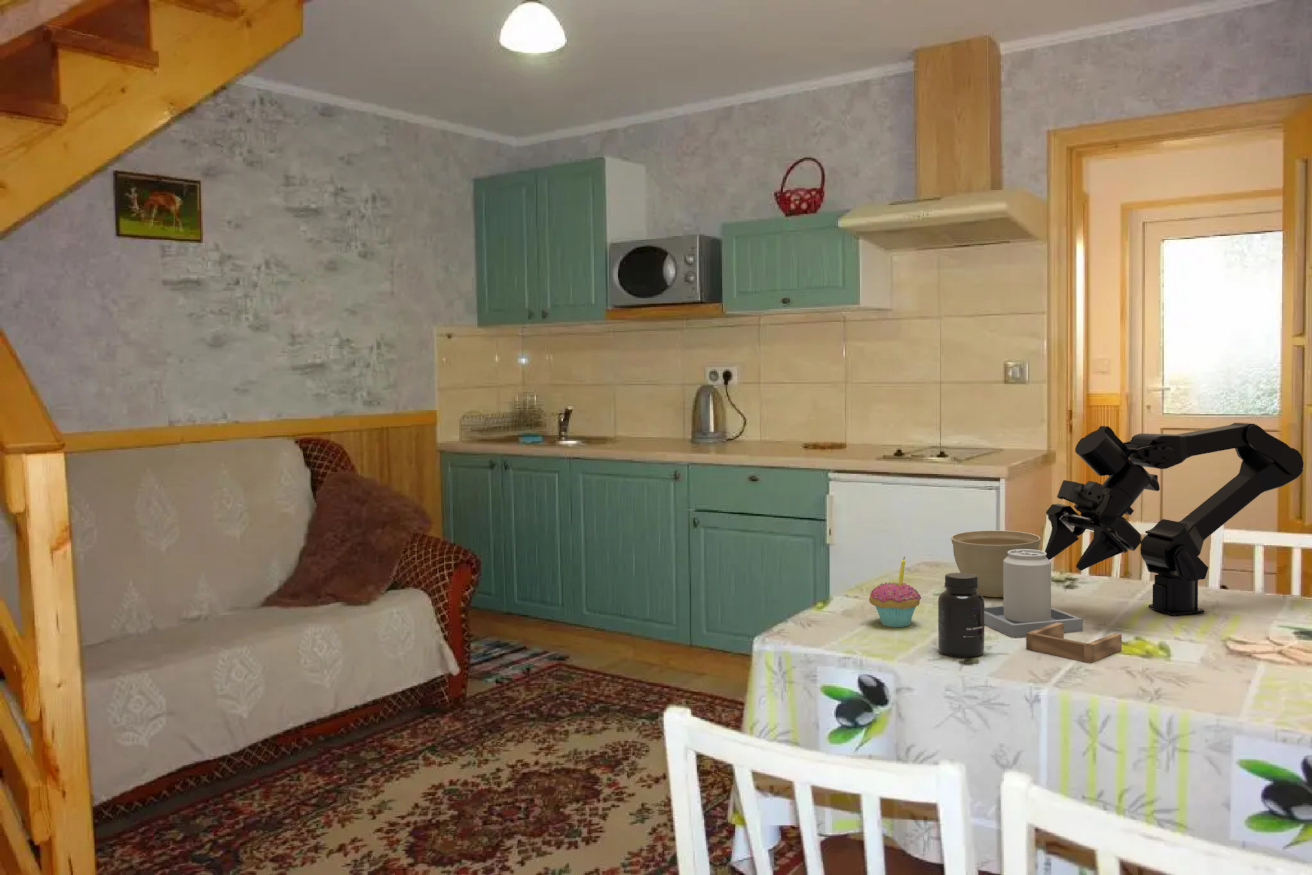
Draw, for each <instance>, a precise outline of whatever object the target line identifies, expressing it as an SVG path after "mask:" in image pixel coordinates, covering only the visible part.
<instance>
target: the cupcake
mask: <svg viewBox="0 0 1312 875" xmlns="http://www.w3.org/2000/svg"><path fill="white" fill-rule="evenodd" d="M905 559H906V555H904V556H903V559H902V560H901V561H900V568H899V576H898V582H885V583H881V584H879V585H877V586H876V587H874V588H873V589H872V590H871V592H870V593H869V594H870V595H869V597H868V598H869V599H868V600H869V603H870V604H871V605H872V606H874V607H875V609H876V610H877V613H878V616H879V619H880V623H881V624H882V625H883V624H884V625H883V626H885V625H886V626H885V627H889V626H891V627H892V628H903V627H904V626H905V627H908V626H910V624H911V622H912V617H913V616H914V613H915V610H916V608H917V606H919V605H920V603H921V601H920V600H921V599H922V597H921V594H920V593H919V591H918V590H917V589H915V588H914V587H913V586H912V585H911V586H910V584H907V583H905V582H904V576H905V575H904V574H905V567H906V566H905V565H906V560H905ZM891 627H890V628H891Z"/></svg>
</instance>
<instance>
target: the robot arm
mask: <svg viewBox="0 0 1312 875" xmlns="http://www.w3.org/2000/svg"><path fill="white" fill-rule="evenodd" d="M1233 449H1235V453H1236V455H1237V457H1239V459H1241V460H1242V461H1241V462H1240V468H1239V470H1238V471H1239V472H1238V474H1237V475H1235V476H1234V477H1233V478H1231V480H1229V481H1228V482H1227V483H1226V484H1224V485H1223V486H1222V487H1221V488H1220V489H1218V490H1217V491H1216V492H1214V493H1213V494H1212V495H1211V496H1210V497H1209V498H1207V499H1206V500H1204V501H1203V502H1202V503H1201V504H1199V505H1198V506H1197V507H1196V508H1195V509H1193V510H1192V511H1191V512H1190V513H1189V514H1187V515H1186V516H1185V517H1183V519H1181V520H1179V521H1176V520H1170V519H1165V518H1162V519H1161V520H1159V521H1158V522H1157V523H1156V524H1155V526H1153V527H1152V528H1150V529H1148V530H1145V534H1146V535H1145V536H1144V537H1143V538H1142V535H1141V533H1140V532H1139V531H1138V530H1137V529H1136V528H1135V526H1133V525H1132V524H1131V523H1130V522H1129V520H1127V519H1126V518H1125V517H1124V515H1127V516H1132V514H1133V513H1134V512H1135V509H1133V508H1132V505H1133V504H1134V503H1135V502H1136V500H1137V499H1138V498H1139V497H1140V496H1141V494H1142V493H1143V491H1144V490H1149V491H1154V492H1159V491H1160V489H1161V487H1160V483H1159V479H1158V477H1159V476H1158V474H1153V473H1149V472H1148V471H1147V470H1146V468H1150V469H1157V470H1158V469H1159V470H1166V469H1170V468H1172V467H1175V466H1177V465H1179V464H1181V463H1183V462H1184V461H1186V460H1187V459H1189V458H1191V457H1195V456H1200V455H1205V454H1210V453H1211V454H1212V453H1215V452H1221V451H1227V450H1233ZM1074 450H1075V453H1076V455H1078V457H1079V458H1080V459H1082V460H1083V462H1084V463H1085V464H1086V465H1087V466H1088V467H1089V468H1090V469H1091V470H1092V471H1093V472H1094V473H1095V474H1096V475H1097V476H1100V477H1105V476H1108V477H1106V479H1105V481H1104V482H1103V483H1102V484H1101V483H1099V482H1097V481H1092V480H1088V481H1087V482H1086V483H1085V484H1084V483H1081V482H1077V481H1072V480H1071V481H1070V480H1066V479H1063V480H1062V483H1061V485H1060V487H1059V490H1058V492H1057V495H1056V498H1057V499H1060V500H1065V501H1067V502H1070V503H1072V504H1074V505H1073V507H1072V506H1071V505H1066V504H1061V503H1053V504H1051V505H1050V506H1049V508H1048V509H1047V510H1046V512H1045V514H1046V515H1047V520H1048V521H1050V525H1051V532H1050V535H1049V539H1048V541H1047V544H1046V546H1045V549H1044V552H1046V553H1047V555H1046V557H1047V558H1048V560H1049V561H1050V560H1051V559H1053V558H1055V557H1056V556H1058V555H1059V554H1060V553H1062V552H1063V551H1065V550H1066V549H1068V548H1069V547H1070V546H1072V545H1073V544H1074V543H1076V542H1077V541H1078V540H1080V538H1079V536H1080V535H1083V534H1084V533H1085V531H1086V530H1090V531H1093V538H1092V540H1091V542H1090V543H1089V544H1088V546H1087V547H1086V549H1085V550H1084V552H1083V554H1082V555H1081V557H1080V558H1079V560H1078V561H1077V563H1076V565H1075V568H1076V569H1078V571H1083V570H1086V569H1088V568H1090V567H1093V566H1094V565H1096V564H1099V563H1101V562H1103V561H1105V560H1108V559H1110V558H1113V557H1115V556H1117V555H1120V554H1123V553H1124V554H1126V553H1127V552H1128V551H1129V550H1130V551H1133V552H1134V551H1136V549H1137V548H1138V547H1139V546H1140V549H1139V550H1140V555H1141V558H1142V560H1143V561H1144V562H1145V565H1146V569H1147V571H1148V573H1152V574H1153V573H1154V583H1153V584H1152V604H1151V603H1150V604H1148V605H1147V606H1148V609H1152V610H1156V611H1158V612H1161V613H1164V614H1167V615H1170V616H1182V615H1191V614H1194V615H1195V614H1204V613H1205V609H1203V608H1200V607H1199V581H1200V580H1205V579H1206V578H1207V574H1208V570H1209V567H1208V566H1207V565H1206V563H1205V562H1204V561H1203V560H1202V559H1201V558H1200V557H1199V556H1200V555H1201V552H1202V548H1203V545H1204V542H1205V541H1206V539H1207V538H1208V537H1210V536H1212V534H1214V533H1215V532H1216V531H1217V530H1219V529H1220V528H1221V527H1223V525H1224V524H1226V523H1227V522H1228V521H1230V519H1232V518H1233V517H1235V515H1237V514H1238V513H1239V512H1241V511H1242V510H1243V509H1244V508H1245V507H1247V506H1248V505H1249V504H1250V503H1251V502H1253V501H1254V500H1255V499H1257V497H1259V496H1260V495H1261V494H1263V493H1265V492H1269V491H1271V490H1275V489H1277V488H1282V487H1284V486H1285V485H1288V484H1290V483H1291V482H1293V481H1295V480H1297V479H1298V478H1299V477H1300V476H1301V475H1302V473H1303V471H1304V461H1303V460H1304V459H1303V457H1302V454H1301V452H1300V451H1299V450H1298V449H1296V448H1294V447H1293V448H1292V447H1291V446H1289V444H1287V443H1286V442H1284V441H1283V440H1280V439H1279V438H1276V437H1275V436H1273V435H1271V434H1269V433H1268V432H1267V431H1265V430H1264V429H1263V428H1262V427H1261V426H1260V425H1258V424H1256V423H1250V422H1233V423H1231V424H1228V425H1223V426H1216V427H1212V428H1206V429H1199V430H1194V431H1189V432H1184V433H1178V434H1174V433H1173V434H1170V433H1137V434H1134V435H1133V436H1132V437H1131V439H1130V440H1128V441H1125V442H1123V441H1122V440H1121V439H1120V437H1118V436H1117V435H1116V433H1115V431H1114V430H1113V429H1112V428H1111V427H1110V426H1109V425H1108V426H1107V425H1100V426H1099V427H1098V429H1097V430H1094V431H1091V432H1090V433H1088V434H1087V435H1085V436H1084V437H1081V438H1080V439H1079V441H1078V442H1077V444H1076V446H1075V448H1074ZM1078 512H1079V513H1080V514H1079V513H1078Z"/></svg>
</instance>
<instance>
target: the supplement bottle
mask: <svg viewBox="0 0 1312 875" xmlns="http://www.w3.org/2000/svg"><path fill="white" fill-rule="evenodd" d="M944 588H946V590H944V591H941V593H940V594H939V596H938V601H937V604H938V606H937V612H938V613H937V616H938V618H937V619H938V620H937V622H938V623H937V624H938V628H937V630H938V632H937V635H938V638H937V640H938V642H937V643H938V644H937V645H938V650H939V651H940V653H941V654H943V655H946V656H948V657H953V658H955V657H956V658H975V657H979V656H982V655H983V654H984V652H985V625H984V607H985V599H984V596H982V595H981V594H980V593H978V592H977V591H976V589H977V588H978V577H977V576H976V575H974V574H969V573H960V572H949V573H946V574H945V575H944Z"/></svg>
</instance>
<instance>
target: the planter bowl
mask: <svg viewBox="0 0 1312 875" xmlns="http://www.w3.org/2000/svg"><path fill="white" fill-rule="evenodd" d="M950 539H951V540H950V541H951V545H952V550H953V551H952V552H953V556H954V560H955V563H956V566H957V568H958V570H959V573H969V574H974V575H976V576H977V577H978V588H977V589H976V591H977V592H978V593H980V594H981V595H982V596H983V597H986V598H987V597H988V598H1004V592H1003V560H1004V559H1005V558H1006V557H1007V556H1008V553H1007V552H1008V551H1010V550H1015V549H1033V550H1040V544H1041V536H1039V535H1037V534H1034V533H1030V532H1023V531H1016V530H999V529H998V530H994V529H993V530H992V529H991V530H988V529H987V530H984V529H983V530H971V531H964V532H958V533H955V534H952V536H951V538H950Z"/></svg>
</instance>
